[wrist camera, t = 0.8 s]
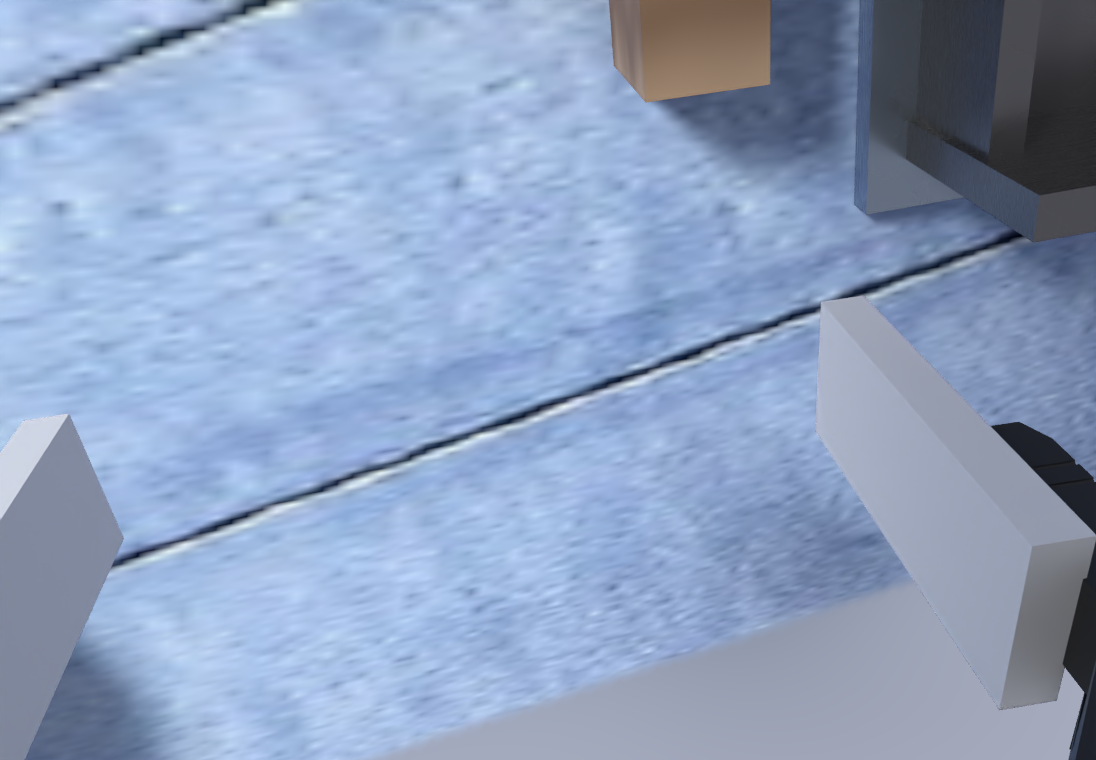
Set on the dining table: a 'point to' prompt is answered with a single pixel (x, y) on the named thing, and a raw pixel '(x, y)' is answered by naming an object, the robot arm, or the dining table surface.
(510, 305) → the dining table surface
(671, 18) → the rail
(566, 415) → the dining table surface
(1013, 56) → the block fixture
